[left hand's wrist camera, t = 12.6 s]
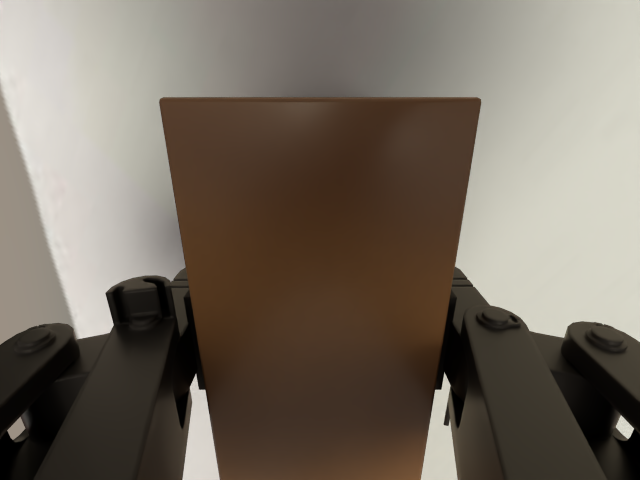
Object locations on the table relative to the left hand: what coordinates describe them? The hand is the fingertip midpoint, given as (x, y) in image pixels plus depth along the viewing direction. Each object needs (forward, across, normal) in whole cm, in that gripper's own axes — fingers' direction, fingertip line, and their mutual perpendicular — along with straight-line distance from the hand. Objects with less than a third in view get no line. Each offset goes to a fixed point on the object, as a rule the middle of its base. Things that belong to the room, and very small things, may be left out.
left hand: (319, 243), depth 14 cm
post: (+1, 0, -22) cm, 22 cm away
